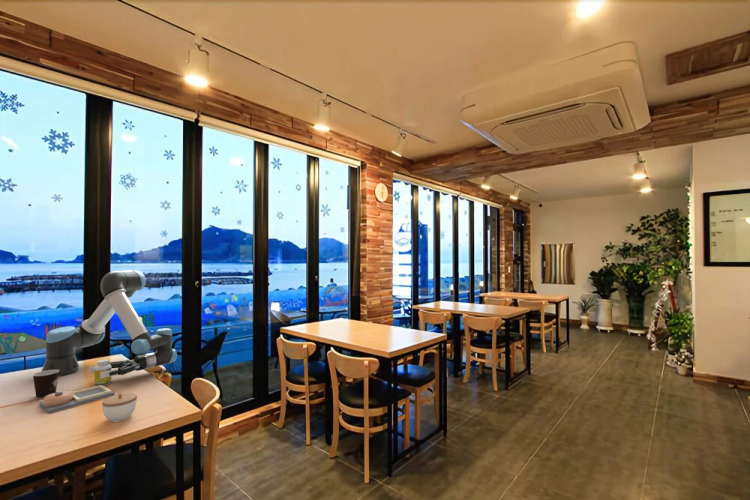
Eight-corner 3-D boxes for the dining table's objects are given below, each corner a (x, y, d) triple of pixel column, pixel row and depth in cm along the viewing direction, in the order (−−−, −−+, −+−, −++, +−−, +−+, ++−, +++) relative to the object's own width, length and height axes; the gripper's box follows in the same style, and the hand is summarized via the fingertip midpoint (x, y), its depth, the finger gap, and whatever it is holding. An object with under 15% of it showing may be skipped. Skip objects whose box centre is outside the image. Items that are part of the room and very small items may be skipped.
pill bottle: (104, 387, 166) (104, 362, 166) (90, 387, 166) (91, 362, 166) (114, 382, 172) (115, 358, 173) (101, 382, 173) (102, 358, 173)
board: (39, 404, 146) (39, 392, 146) (102, 388, 164) (102, 377, 164) (49, 413, 138) (49, 400, 138) (114, 395, 156) (114, 383, 156)
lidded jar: (131, 409, 142) (131, 386, 142) (140, 417, 135) (141, 393, 135) (98, 419, 133) (99, 394, 133) (106, 428, 126) (107, 402, 127)
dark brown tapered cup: (42, 399, 151) (43, 376, 151) (27, 398, 153) (27, 375, 153) (70, 389, 163) (71, 368, 163) (56, 388, 164) (56, 367, 165)
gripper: (155, 373, 177) (105, 386, 160) (133, 364, 191) (85, 375, 174) (155, 358, 177) (105, 369, 160) (134, 351, 191) (85, 360, 174)
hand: (94, 372), depth 167 cm, fingers open, 13 cm apart
